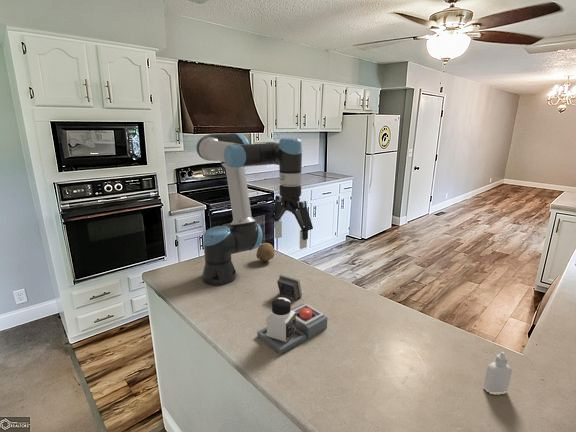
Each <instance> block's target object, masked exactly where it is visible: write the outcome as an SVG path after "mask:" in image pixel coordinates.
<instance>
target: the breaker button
mask: <svg viewBox="0 0 576 432" xmlns="http://www.w3.org/2000/svg"><path fill="white" fill-rule="evenodd" d="M299 317H300V318H301V319H303V320H305V321H307V320H309V319H311V318H312V310H311V309H309V308H302V309H300V311H299Z"/></svg>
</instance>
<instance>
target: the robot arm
mask: <svg viewBox="0 0 576 432" xmlns="http://www.w3.org/2000/svg"><path fill="white" fill-rule="evenodd" d="M195 148H196V153H197V155H198V156H199V157H200V158H201V159H202V160H204V161H210V162H211V161H213V162H214V161H217V162H218V161H219V162H221V163H220V164H221V166H222V167H223V168H225V172H226V179H227V185H228V186H227V187H228V188H227V189H228V194H229V199H230V206H231V213H232V221H231V222H230V227H229V226H227V225H217V226H212V227H210V228H208V229H207V230H205V232H204V233H203V241H202V243H203V253H204V266H203V271H202V274H201V275H202V277H201V278H202V279H201V280H202V282H203V283H204V284H207V285H210V286H222V285H227V284H230V283H231V282H234V281H235V280H236V278H237V271H236V268H235V266H234V264H233V261H232V255H234V254H238V253H242V252H247V251H248V252H249V251H253V250H255V249H258V248H259V246H260V245H261V244H262V243H263V230H262V228H261V225H260V224H258V223H257V222H256V219H255V218H253V216H252V210H251V202H250V197H249V189H248V183H247V177H246V176H247V175H246V169H245V167H255V166H256V167H257V166H269V165H276V166H278V167H279V168H278V169H279V171H278V173H279V184H280V185H279V186H278V187H279V194H278V195H275V197H274V203H273V207H272V208H271V209H272V210H271V212H270V216H269V218H270V219H272V221H273V228H274V238H275V239H277V240H278V239H279V238H282V237H283V235H282V234H283V231H282V230H283V227H282V225H283V223H282V217H283V216H284V214H285V213H286V212H287V211H288V212H290V213H291V214H292V215H294V218H295V219H296V221H297V223H298V225H299V228H300V229H301V230H299V249H300V250H302V249H306V248H307V247H308V239H309V231H311V230H313V229H314V227H313V223H312V220H311V217H310V214H309V211H308V205H307V203H308V202H307V201H306V200H303V201H301V199H300V197H301V196H302V185H301V184H302V161H303V158H302V157H303V149H302V148H303V147H302V140H301V139H300V138H297V137H295V138H293V137H285V138H280V139H279V142H274V141H271V142H270V141H269V142H268V141H267V142H265V143H264V142H263V143H250V142H249V140H248V138H247V137H246V136H245V135H244V134H242V133H235V132H233V133H232V132H231V133H210V134H206V135H204V136H202V137H200V138H199V140H198V141H197V143H196V147H195Z"/></svg>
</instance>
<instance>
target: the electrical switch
mask: <svg viewBox="0 0 576 432" xmlns="http://www.w3.org/2000/svg"><path fill="white" fill-rule="evenodd" d="M278 278H279V279H278V280H277V281H276V284H277V286H278V287H277V288H278V291H279V296H282V297H283V298H286V299H291V300H294V301H297V300H298V299H299V298H300V299H301V298H302V297H303V293H302V285H301V282H300V281H301V280H300V279H298V278H296V277H292V276H290V275H289V276H288V275H286V274H283V273H281V274H279V275H278Z"/></svg>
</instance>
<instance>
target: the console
mask: <svg viewBox="0 0 576 432" xmlns="http://www.w3.org/2000/svg"><path fill="white" fill-rule="evenodd" d="M302 308H309V309H311V310H312V318H311V319H309V320H307V321H305V320H303V319H301V318H300V317H299V311H300V309H302ZM291 311H294V312H296V330H295V331H294V333H293V334H292V335H291V337H290V338H289V339H288V341H287V342H284V341H281V340H278V339H275V338H272V337H268V336H267V326H266V327H263V328H261V329H260V330H258V331H257V332H256V335H257V336H256V337H257V338H259V340H261V341H262V342H264V343H265V344H266V345H268V346H269V347H270V348H271V349H273V350H274V351H275V352H276V353H277V354H279V355H280V356H282V355H283V354H285V353H286V352H288V351H290V350H291V349H293V348H295V347H297V346H298V345H300V344H302V343H303V342H305V341H307V339H310V338H312V337H314V336H315V335H317V334H319V333H320V332H322V331H324V330H326V329H328V317H327V316H326V315H325V314H324V313H323V312H321V311H319V310H317V309H316V308H314V307H313V306H311V305H309V304H307V303H302V304H299V305H296V306H295V307H293V308H291Z"/></svg>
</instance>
